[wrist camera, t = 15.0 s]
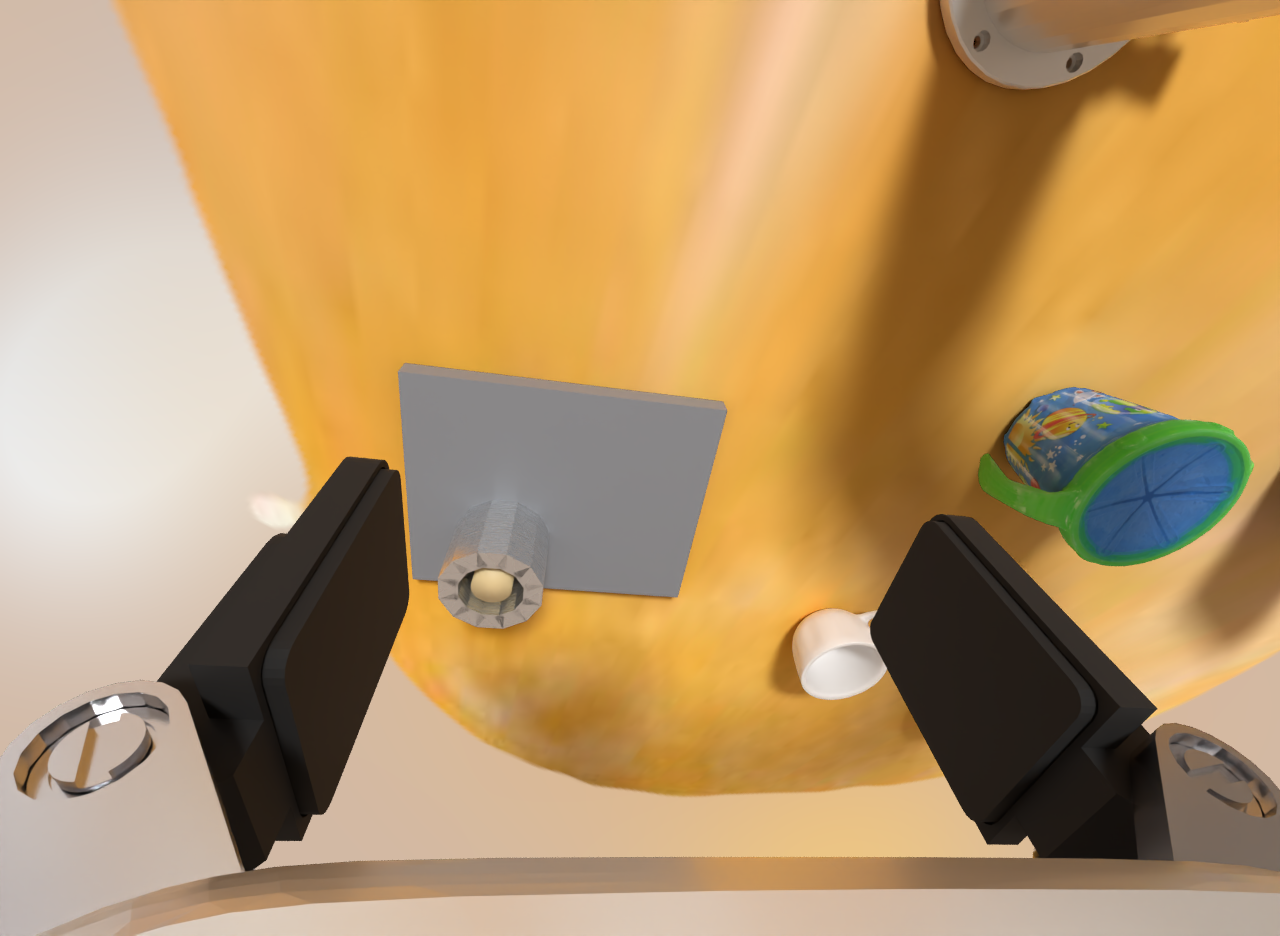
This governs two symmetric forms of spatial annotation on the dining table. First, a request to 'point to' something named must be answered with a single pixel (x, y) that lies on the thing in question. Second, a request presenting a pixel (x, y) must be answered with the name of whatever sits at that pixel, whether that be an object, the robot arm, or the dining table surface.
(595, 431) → the stand
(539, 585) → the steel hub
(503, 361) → the dining table surface
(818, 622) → the teacup
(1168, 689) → the dining table surface
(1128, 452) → the snack cup
